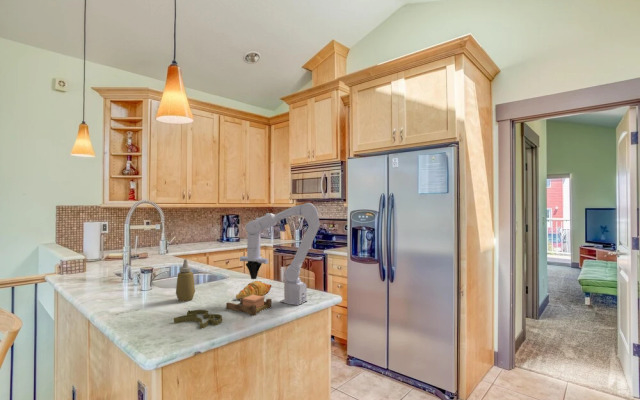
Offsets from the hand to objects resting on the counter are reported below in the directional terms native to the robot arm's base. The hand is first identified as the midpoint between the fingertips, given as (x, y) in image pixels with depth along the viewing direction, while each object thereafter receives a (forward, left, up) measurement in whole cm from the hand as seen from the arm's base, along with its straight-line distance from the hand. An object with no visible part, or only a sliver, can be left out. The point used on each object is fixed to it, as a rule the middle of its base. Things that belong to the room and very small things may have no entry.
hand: (253, 278), depth 148 cm
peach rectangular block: (-7, +9, -9) cm, 15 cm away
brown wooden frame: (-4, +9, -10) cm, 14 cm away
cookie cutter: (+2, +28, -10) cm, 30 cm away
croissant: (+6, -8, -10) cm, 14 cm away
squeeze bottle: (+28, +13, -10) cm, 32 cm away
